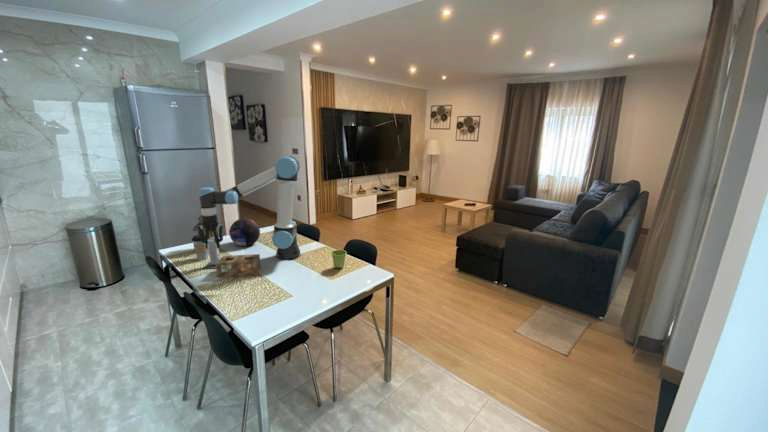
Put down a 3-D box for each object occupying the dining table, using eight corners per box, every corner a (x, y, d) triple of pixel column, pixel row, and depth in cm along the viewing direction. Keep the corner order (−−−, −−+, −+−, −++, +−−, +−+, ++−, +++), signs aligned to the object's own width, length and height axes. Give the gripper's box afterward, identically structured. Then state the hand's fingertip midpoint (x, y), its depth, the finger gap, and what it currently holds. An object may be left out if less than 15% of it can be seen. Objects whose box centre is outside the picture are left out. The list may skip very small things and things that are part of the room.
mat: (226, 262, 187) (226, 261, 187) (221, 268, 177) (221, 267, 177) (208, 263, 185) (208, 262, 185) (202, 269, 176) (202, 268, 176)
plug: (219, 262, 183) (216, 236, 180) (217, 264, 180) (214, 238, 176) (212, 262, 183) (209, 237, 179) (210, 265, 179) (207, 239, 175)
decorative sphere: (236, 241, 227) (233, 215, 222) (264, 241, 229) (262, 215, 224) (226, 250, 208) (223, 221, 204) (256, 249, 210) (254, 221, 206)
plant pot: (350, 265, 185) (349, 252, 183) (337, 270, 178) (337, 256, 176) (340, 261, 191) (340, 248, 189) (328, 265, 184) (327, 252, 182)
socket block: (260, 266, 181) (259, 254, 179) (256, 275, 169) (255, 261, 167) (224, 268, 177) (222, 255, 175) (217, 277, 165) (215, 263, 163)
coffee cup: (190, 260, 189) (187, 237, 186) (204, 255, 198) (201, 233, 194) (201, 262, 186) (198, 239, 182) (214, 257, 194) (212, 235, 191)
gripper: (226, 212, 180) (230, 250, 185) (196, 213, 177) (201, 251, 182) (222, 215, 172) (226, 254, 178) (190, 216, 169) (196, 256, 175)
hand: (213, 253), depth 180 cm, fingers closed on plug, 3 cm apart
